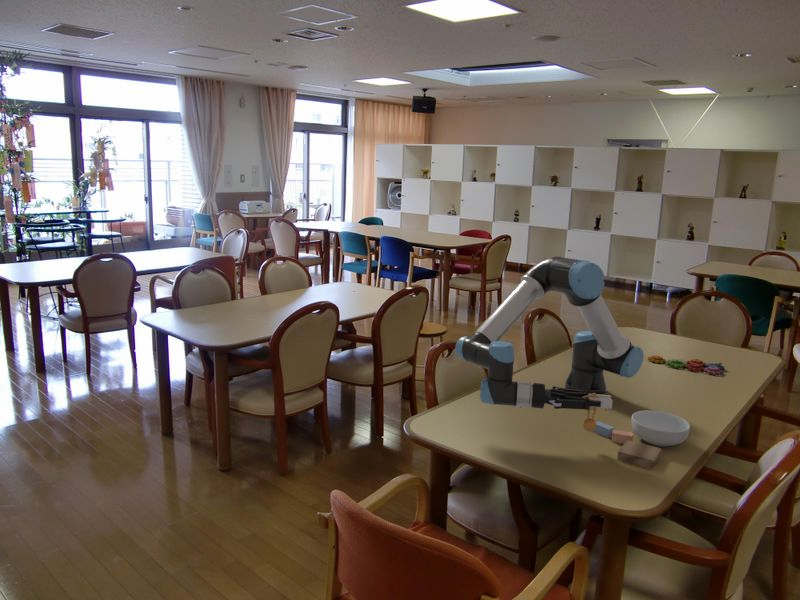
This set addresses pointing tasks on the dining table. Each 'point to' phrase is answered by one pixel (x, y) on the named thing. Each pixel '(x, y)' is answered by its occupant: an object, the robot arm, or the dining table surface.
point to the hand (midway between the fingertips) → (611, 401)
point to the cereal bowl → (660, 427)
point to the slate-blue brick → (604, 429)
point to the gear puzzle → (691, 365)
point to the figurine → (590, 423)
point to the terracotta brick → (621, 436)
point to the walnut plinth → (639, 454)
